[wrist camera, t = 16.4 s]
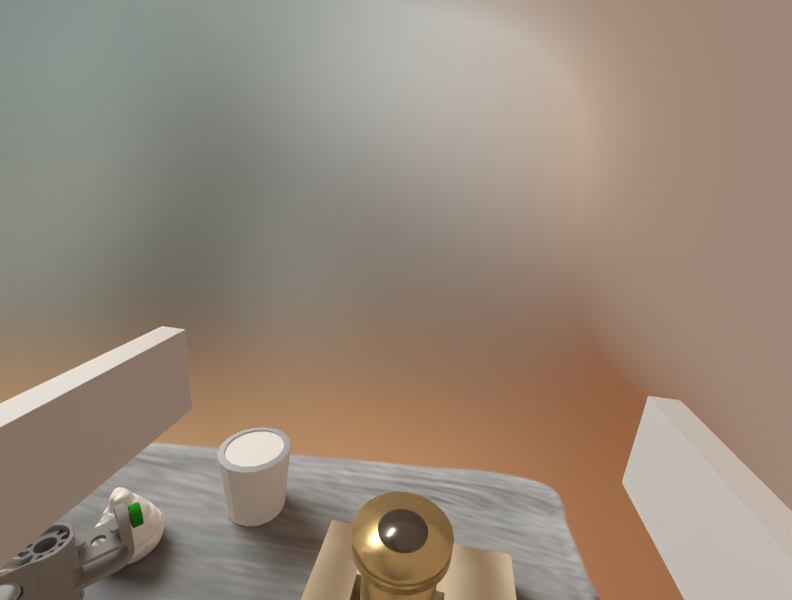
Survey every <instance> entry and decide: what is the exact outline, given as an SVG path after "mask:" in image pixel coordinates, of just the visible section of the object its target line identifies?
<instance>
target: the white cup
mask: <svg viewBox="0 0 792 600" xmlns="http://www.w3.org/2000/svg"><path fill="white" fill-rule="evenodd" d="M290 445H291V443H290V440H289V439H288V436H287V435H286V434H284V433H282V432H281V431H279V430H276V429H271V428H252V429H248V430H244V431H241V432H239V433H237V434H235V435H233V436H231V437H229V438H228V439H227V440H226V441H225V442H224V443H223V444H221V446H220V448H219V451H218V453H217V456H218V461H219V466H220V472H221V477H222V482H223V487H224V492H225V498H226V503H227V508H228V513H229V517H230V518H231V519H232V520H233V521H234V522H235V523H236V524H239V525H242V526H245V527H247V526H258V525H261V524H264V523H267V522H269V521H271V520H272V519H273V518H275V517H276V516H277V515H278V514H279V513H280V512H281V510H282V509H283V507H284V502H285V495H286V485H287V475H288V465H289V455H290Z"/></svg>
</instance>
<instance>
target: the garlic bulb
mask: <svg viewBox="0 0 792 600" xmlns="http://www.w3.org/2000/svg"><path fill="white" fill-rule="evenodd" d="M136 502H139V504H140V507H141V510H142V515H143V520H144V524H142V525H140V526H138V527H135V528H133V527H132V525H131V524H130V525H131V530H132V536H133V542H134V548H135V551H134V555H133V557H132V559H131V560H130V561H129V563H128V564H131V563H134V562H136V561H138V560H140V559H141V558H143V557H144V556H146V555H147V554H148V553H150V552H151V551H152V550H153V549H154V548H155V547H156V546H157V544H158V542H159V541H160V539H161V537H162V534H163V531H164V527H165V518H164V516H163V514H162V513H161V511H160V510H159V509H158V508H156V506H155V505H153V504H152V503H151V502H150V501H148V500H146V499H145V498H143V497H141V496H138V495H136V494H133V493H132V492H131V491H129V490H128V489H125V488H121V487H119V488H116V489H114V491H113V492H112V494H111V496H110V499H109V505H108V507H107V509H106V510H105V511H104V512H103V514H102V518H101V521H100V522H99V523H98V524H97V525H96V526H95V527H97V526H100V525H102V524H104V523H107V522H108V521H109V520H110V519H112V518H115V515H114V507H115V506H117V505H120V504H122V503H125V506H126V509H127V511H128V506H129V505H132V504H134V503H136ZM104 541H105V538H100V539H98V540H96V541H94V542H93V544H92V545H93V546H96V545H99V544H101V543H103V542H104ZM128 564H127V565H128Z"/></svg>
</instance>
